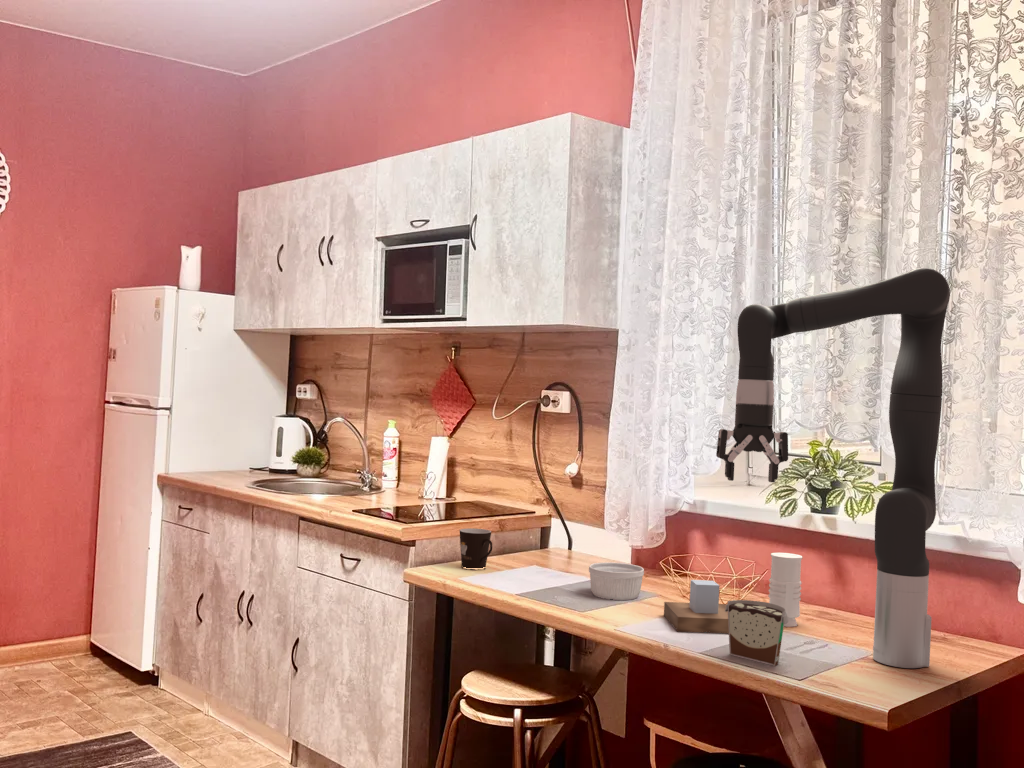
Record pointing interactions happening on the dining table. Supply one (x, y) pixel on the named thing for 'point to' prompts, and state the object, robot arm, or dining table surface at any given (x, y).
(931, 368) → the robot arm
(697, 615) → the walnut plinth
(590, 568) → the ramekin
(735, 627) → the food container
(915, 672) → the dining table surface
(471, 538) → the coffee mug
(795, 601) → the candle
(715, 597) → the gray block
